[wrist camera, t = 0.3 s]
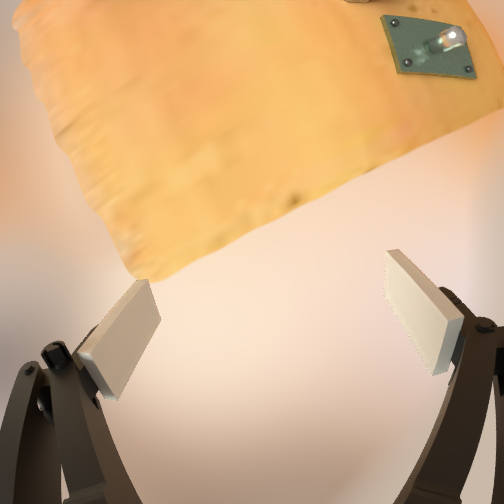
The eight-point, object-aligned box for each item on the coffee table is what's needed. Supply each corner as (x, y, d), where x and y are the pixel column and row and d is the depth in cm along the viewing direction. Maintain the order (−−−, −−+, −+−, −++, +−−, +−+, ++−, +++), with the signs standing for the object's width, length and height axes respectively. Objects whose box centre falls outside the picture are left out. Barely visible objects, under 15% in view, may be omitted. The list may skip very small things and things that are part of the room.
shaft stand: (380, 18, 29) (401, -5, 20) (456, 28, 27) (484, 15, 18) (397, 73, 32) (425, 60, 24) (471, 79, 30) (503, 73, 22)
